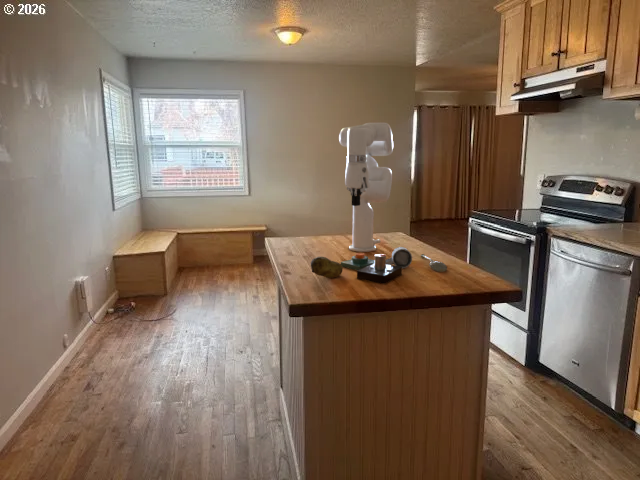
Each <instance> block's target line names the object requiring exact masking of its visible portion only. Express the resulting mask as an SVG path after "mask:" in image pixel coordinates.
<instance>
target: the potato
mask: <svg viewBox="0 0 640 480" xmlns="http://www.w3.org/2000/svg"><path fill="white" fill-rule="evenodd" d="M310 268H311V273H313V274H315V275H316V276H318V277H319V276H320V277H324V278H327V279H334V278H337V277H339V276H340V275H342V273H343V270H344V267H342V265H341V262H340V263H339V262H337V261H334V260H331V259H329V258H328V257H325V256H316V257H314V258H312V259H311V262H310Z"/></svg>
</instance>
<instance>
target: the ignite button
mask: <svg viewBox="0 0 640 480" xmlns="http://www.w3.org/2000/svg"><path fill="white" fill-rule="evenodd" d="M365 254H366V253H365V252H357V253H355V256H356V257H355V258H358V259H363V258H365V256H366V255H365Z"/></svg>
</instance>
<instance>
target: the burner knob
mask: <svg viewBox="0 0 640 480" xmlns="http://www.w3.org/2000/svg"><path fill="white" fill-rule="evenodd" d="M374 260H375V264H374V269H376V270H385V269H386V260H387V255H386V254H383V253H377V254H374Z"/></svg>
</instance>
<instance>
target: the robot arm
mask: <svg viewBox="0 0 640 480" xmlns="http://www.w3.org/2000/svg"><path fill="white" fill-rule="evenodd" d="M390 125H391V124H389V123H388V122H366V123H363V124H358V125H353V126H347V127H343V128H342V129H341V130H340V132H339V135H338V140H339V144H340V145H341V146H342V147H344V148H346V149H347V153H346V154H347V156H346V166H345V176H344V177H345V178H344V184H345V187H346V190H347V191H349V192H350V196H351V206H352V233H351V234H352V243H351V244H350V245H349V246H348V249H349V250H350V251H352V252H357V253H368V252H369V253H370V252H375V251H377V246H376V244H377V245H378V244H381V242H382V241H381V239H380V238H378V239H375V238H374V219H375V218H374V217H375V216H374V215H375V212H374V209H373V207H372V206H371V205H370V203H386V202H388V200H390V196H391V191H392V185H393V183H392V182H393V172H392V170H391V168H389V167H387V166H379V164H378V162H377V160H376V159H375V158H374V157H387V156H390V155H392V154H393V151H394V150H393V149H394V141H393V131H392V128H391V126H390Z"/></svg>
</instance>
